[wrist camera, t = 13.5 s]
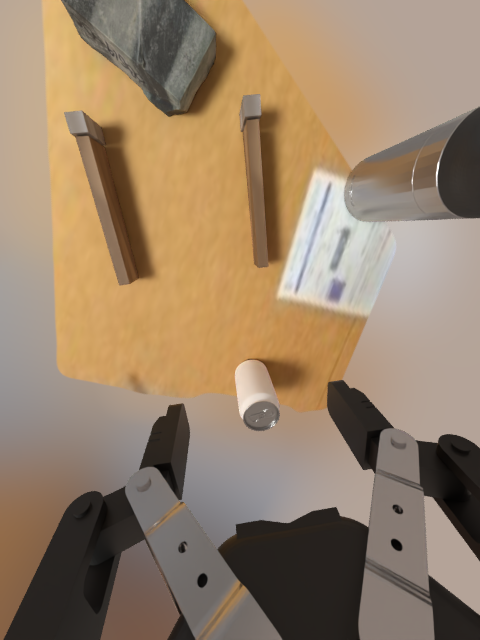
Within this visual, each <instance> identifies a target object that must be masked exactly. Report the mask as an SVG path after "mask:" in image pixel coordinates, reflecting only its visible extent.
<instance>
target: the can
mask: <svg viewBox="0 0 480 640" xmlns="http://www.w3.org/2000/svg"><path fill="white" fill-rule="evenodd" d="M235 381H236V389H237V397H238V405H239V412H240V415H241V418H242V419H243V421H244V423H245V425H246V426H247V427H248V428H250V429H252V430H255V431H264V430H268V429H270V428H272V427H273V426H274V425H275V424H276V423H277V422H278V420H279V416H280V413H279V410H280V405H279V401H278V398H277V395H276V392H275V390H274V387H273V384H272V381H271V378H270V376H269V373H268V370H267V368H266V366H265V365H264V364H263V363H262V362H260V361H258V360H247V361H244V362H242V363H241V364H240V365H239V366H238V367H237V369H236V371H235Z"/></svg>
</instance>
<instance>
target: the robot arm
mask: <svg viewBox="0 0 480 640" xmlns="http://www.w3.org/2000/svg"><path fill="white" fill-rule="evenodd" d="M344 196H345V203H346V207H347V209H348V211H349V212H350V213H351V215H352V216H353V217H355V218H356V219H358V220H360V221H365V222H378V221H409V220H438V219H461V218H462V219H463V218H480V107H478V108H475V109H473V110H471V111H469V112H467V113H464V114H462V115H460V116H458V117H456V118H454V119H452V120H450V121H447V122H445V123H443V124H441V125H439V126H436V127H434V128H432V129H430V130H427V131H425V132H423V133H421V134H419V135H417V136H414V137H413V138H410V139H408V140H405V141H404V142H401V143H399V144H397V145H394V146H392V147H390V148H388V149H386V150H383V151H381V152H379V153H377V154H374V155H372V156H370V157H368V158H366V159H364V160H363V161H361V162H360V163H359V164H358V165H357V166H356V167H355V168H354V169H353V170H352V172H351V173H350V175H349V177H348V179H347V182H346V186H345V192H344ZM327 407H328V411H329V414H330V416H331V418H332V419H333V421H334V422H335V424H336V426H337V428H338V429H339V431H340V433H341V434H342V436H343V438H344V439H345V441H346V443H347V444H348V446H349V447H350V449H351V451H352V452H353V454H354V456H355V457H356V459H357V461H358V462H359V464H360V466H361V467H362V469H363V470H367V469H372V470H373V471H374V473H375V478H374V487H373V495H372V502H371V511H370V520H369V527H367V526H365V525H364V524H362V523H360V522H358V521H355V520H353V519H350V518H346V517H342V516H340V515H339V512H338V510H337V508H336V507H334V508H328V509H322V510H317V511H312V512H310V513H308V514H306V515H304V516H302V517H300V518H298V519H296V520H295V521H293V522H291V523H280V522H272V521H264V520H259V521H253V522H248V523H242V524H237V525H236V533H237V534H235V535H234V536H232V537H230V538H229V539H228V540H226V541H225V542H224V543H223V544H222V545H221V546H220V547H219V548H218V549H216V547H215V546H214V544H213V543H212V542H211V540H210V539H209V537H208V536H207V534H206V533H205V532H204V530H203V529H202V527H201V526H200V524H199V523H198V521H197V520H196V519H195V517H194V516H193V514H192V513H191V511H190V510H189V509H188V507H187V506H186V504H185V503H184V502H180V501H179V500H181V499H182V494H183V486H184V478H185V470H186V462H187V454H188V446H189V438H190V430H189V423H188V419H187V415H186V411H185V407H184V404H176V405H169V407H168V410H167V414H166V416H162V417H159V418H158V420H157V421H156V422H155V424H154V425H153V428H152V431H151V435H150V437H149V440H148V441H149V442H148V443H147V447H146V450H145V453H144V456H143V459H142V463H141V465H140V469H139V471H137V472H136V473H135V474H133V475H132V476H131V478H130V479H129V481H128V482H127V484H126V486H125V487H123V488H121V489H119V490H117V491H115V492H113V493H111V494H109V495H106V496H104V497H103V496H102V494H101V493H100V492H97V491H91V492H87V493H85V494H83V495H81V496H80V497H78V498H77V499H76V500H74V501H73V502H72V503H71V504H70V505H69V507H68V508H67V509H66V511H65V513H64V515H63V517H62V519H61V521H60V523H59V525H58V527H57V529H56V531H55V533H54V535H53V538H52V540H51V542H50V544H49V546H48V548H47V550H46V552H45V554H44V557H43V559H42V560H41V563H40V565H39V567H38V569H37V571H36V573H35V575H34V577H33V580H32V582H31V584H30V586H29V588H28V590H27V592H26V594H25V596H24V598H23V600H22V602H21V605H20V606H19V609H18V611H17V613H16V615H15V617H14V619H13V621H12V623H11V625H10V627H9V629H8V632H7V634H6V636H5V638H4V640H100V638H101V634H102V630H103V626H104V622H105V618H106V614H107V610H108V605H109V601H110V597H111V593H112V589H113V585H114V581H115V577H116V572H117V568H118V564H119V560H120V556H121V552H122V551H124V550H126V549H128V548H129V547H131V546H133V545H135V544H137V543H138V542H140V541H142V540H144V539H145V541H146V543H147V546H148V548H149V550H150V552H151V554H152V556H153V558H154V560H155V563H156V565H157V567H158V569H159V571H160V573H161V575H162V578H163V580H164V582H165V584H166V586H167V589H168V591H169V593H170V596H171V598H172V600H173V602H174V604H175V606H176V609H177V611H178V613H179V615H180V617H179V619H178V621H177V622H176V624H175V626H174V628H173V630H172V632H171V634H170V636H169V638H168V639H167V640H480V615H479V614H477V613H476V612H475V611H474V610H472V609H471V608H470V607H468V606H467V605H466V604H465V603H463V602H462V601H461V600H460V599H458V598H457V597H456V596H455V595H453V594H452V593H450V591H448V590H447V589H446V588H445V587H443V586H442V585H441V584H439V583H438V582H437V581H436V580H435V579H433V578H432V577H430V576H429V575H428V564H427V546H426V527H425V510H424V496H430V497H433V498H434V500H435V501H436V502H437V504H438V505H439V506H440V508H441V509H442V510H443V512H444V513H445V515H446V516H447V517H448V519H449V520H450V521H451V523H452V524H453V525H454V527H455V528H456V530H457V531H458V532H459V534H460V535H461V536H462V537H463V539H464V540H465V542H466V543H467V544H468V546H469V547H470V549H471V550H472V551H473V553H474V554H475V555H476V557H477V558H478V559H479V561H480V448H479V447H478V446H477V445H475V444H474V443H472V442H471V441H469V440H467V439H465V438H463V437H460V436H457V435H451V434H446V435H442V436H441V437H440V438H439V440H438V443H432V442H423V441H417V440H415V439H414V438H413V437H412V436H411V435H409V434H408V433H406V432H404V431H402V430H399V429H395V428H394V427H393V426H392V425H391V424H390V423H389V422H388V421H387V420H386V418H385V417H384V416H383V415H382V414H381V413H380V412H379V410H378V409H377V408H375V406H374V405H373V404H372V402H370V400H369V399H368V398H367V397H366V396H365V395H364V393H362V392H360V391H359V390H357V389H355V388H351V389H350V388H349V386H348V385H347V384H346V383H345V382H344V381H343V380H339V381H332V382H329V383H328V394H327Z"/></svg>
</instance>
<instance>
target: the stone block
mask: <svg viewBox="0 0 480 640" xmlns="http://www.w3.org/2000/svg"><path fill="white" fill-rule="evenodd" d="M61 1H62V3H63V4H64V6H65V8H66V9H67V11H68V13H69V15H70V16H71V18H72V20H73V22H74V25H75V27H76V29H77V31H78V33H79V35H80V36H81V38H82V39H83V40H84V41H85V42H86V43H87V44H89V45H90V46H91V47H92V48H93V49H95V50H96V51H98V52H99V53H101V54H102V55H103V56H104V57H106V58H107V59H108V60H109V61H110V62H112V63H113V64H114V65H115V66H117V67H118V68H120V69H121V70H122V71H123V72H125V73H126V74H127V75H128V76H129V77H130V79H132V80H133V81H134V82H135V83H136V84H137V85H138V86H139V87H141V88H142V89H143V92H144V94H145V95H146V97H147V98H148V100H149V101H150V102H152V103H153V104H154V105H155V106H156V107H157V108H158V109H160V110H161V111H162V112H163V113H165V114H166V115H167V116H171V115H173V114H183V113H186V112H187V111H188V109H189V106H190V105H191V103H192V100H193V98H194V96H195V93H196V92H197V90H198V88H199V87H200V86H201V84H202V82H203V81H205V79H206V77H207V75H208V73H209V71H210V68H211V67H212V65H213V64H214V60H215V58H216V33H215V31H214V30H213V29H212V28H211V27H210V26H209V25H208V24H207V23H206V22H205V21H204V20H203V19H202V18H201V17H200V16H199V15H198V14H197V13H196V12H195V11H194V10H193V9H192V7H191V6H190V5H188V4H187V3H186V2H185V1H184V0H61Z"/></svg>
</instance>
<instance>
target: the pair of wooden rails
mask: <svg viewBox="0 0 480 640" xmlns="http://www.w3.org/2000/svg"><path fill="white" fill-rule="evenodd" d="M64 114H65V117H66V121H67V124H68V127H69V131H70V134H72V135H73V136H75V137H76V140H77V144H78V147H79V151H80V154H81V157H82V161H83V164H84V168H85V171H86V174H87V178H88V181H89V184H90V188H91V191H92V195H93V198H94V201H95V205H96V208H97V212H98V215H99V218H100V222H101V225H102V229H103V232H104V235H105V239H106V242H107V246H108V249H109V252H110V256H111V259H112V262H113V266H114V269H115V273H116V276H117V279H118V283H119V285H127V284H131V283H132V282H134V281H135V280H137V279H138V278H139V277H138V273H137V269H136V265H135V262H134V258H133V254H132V250H131V246H130V243H129V239H128V235H127V231H126V227H125V223H124V220H123V216H122V212H121V208H120V204H119V201H118V197H117V193H116V189H115V185H114V181H113V178H112V174H111V170H110V166H109V162H108V159H107V155H106V151H105V147H104V146H103V145H106V144H105V140H104V136H103V132H102V128H101V127H100V126H99V125H98V124H97V123H96V122H95V121H93V120H92V119H91V118H90V117H89V116H88V115H86V114H85V113H84V112H83V111H73V112H64ZM239 115H240V126H241V132H243V140H244V152H245V163H246V175H247V186H248V198H249V209H250V221H251V232H252V244H253V255H254V264H255V265H256V266H257V267H258V268H262V267H268V251H267V236H266V221H265V206H264V191H263V175H262V160H261V145H260V130H259V120H260V117H261V101H260V94H256V95H245V96H243V99H242V104H241V109H240V114H239Z"/></svg>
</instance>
